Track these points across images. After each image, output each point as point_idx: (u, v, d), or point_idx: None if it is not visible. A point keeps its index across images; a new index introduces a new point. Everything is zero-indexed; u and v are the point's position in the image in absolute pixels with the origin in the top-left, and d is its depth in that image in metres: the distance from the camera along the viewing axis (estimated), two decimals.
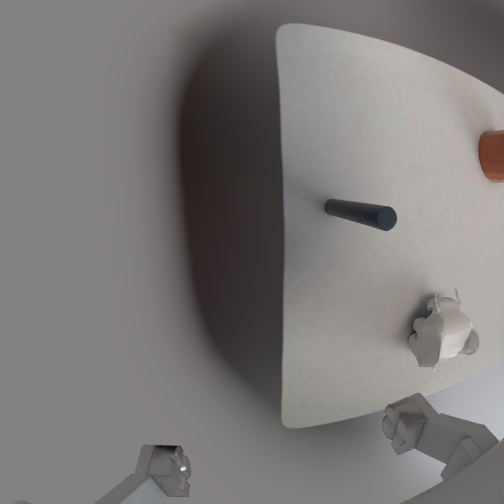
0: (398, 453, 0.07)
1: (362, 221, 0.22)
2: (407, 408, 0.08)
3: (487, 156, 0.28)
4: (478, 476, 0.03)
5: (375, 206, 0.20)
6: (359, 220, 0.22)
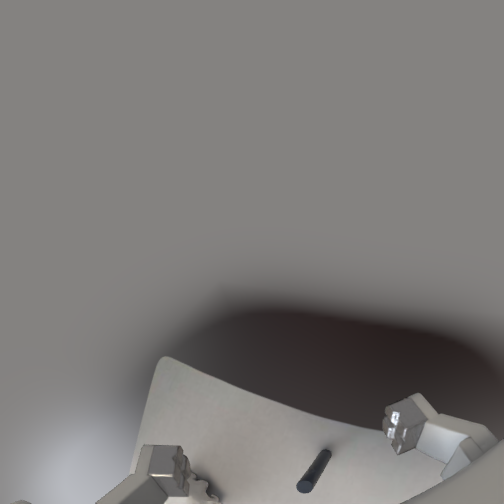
0: (398, 453, 0.07)
1: (308, 471, 0.23)
2: (407, 408, 0.08)
3: None
4: (478, 476, 0.03)
5: (315, 482, 0.21)
6: (309, 470, 0.24)
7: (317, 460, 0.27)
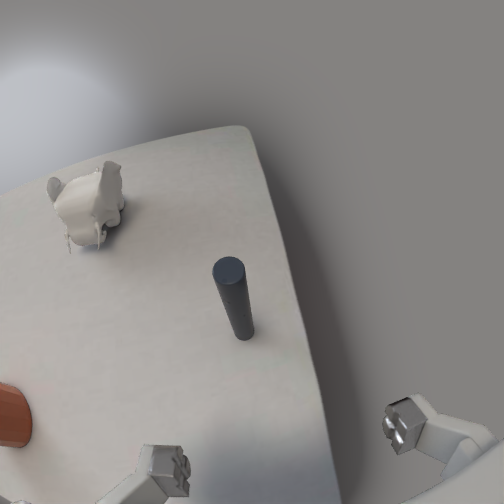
0: (398, 453, 0.07)
1: None
2: (407, 408, 0.08)
3: (20, 414, 0.18)
4: (478, 476, 0.03)
5: (239, 291, 0.16)
6: None
7: None
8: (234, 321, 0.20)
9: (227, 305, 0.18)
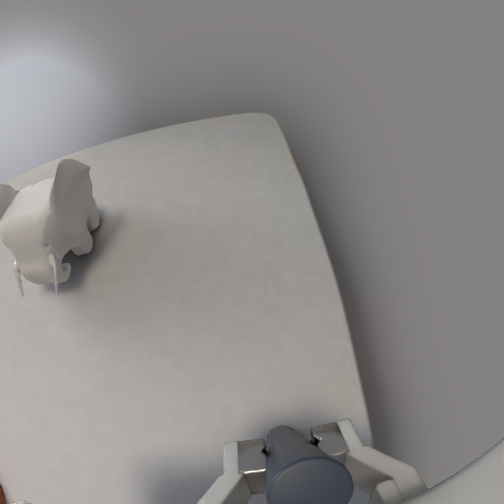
0: None
1: None
2: (332, 434, 0.08)
3: None
4: (478, 476, 0.03)
5: None
6: None
7: None
8: None
9: None
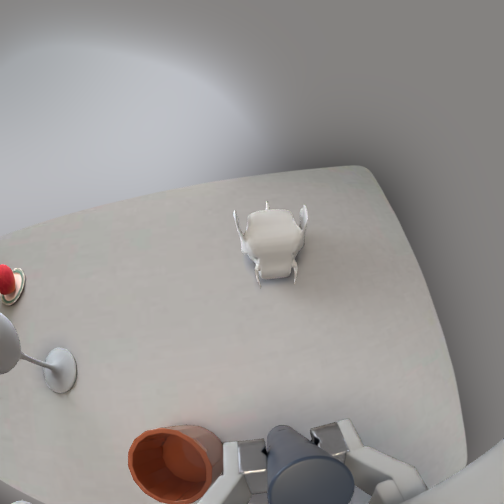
0: None
1: None
2: (332, 434, 0.08)
3: (222, 451, 0.25)
4: (478, 476, 0.03)
5: None
6: None
7: None
8: None
9: None
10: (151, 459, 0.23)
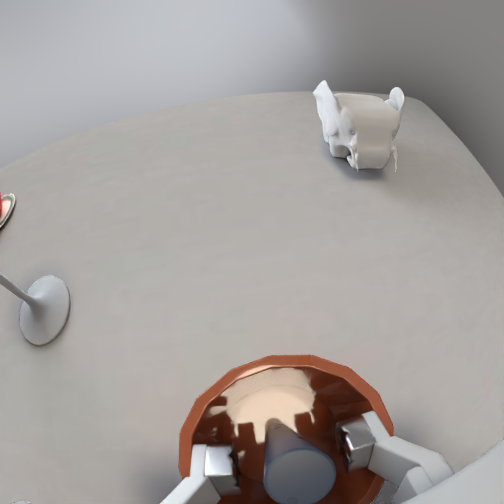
0: (348, 472, 0.07)
1: None
2: (358, 426, 0.08)
3: None
4: (478, 476, 0.03)
5: None
6: None
7: None
8: None
9: None
10: None
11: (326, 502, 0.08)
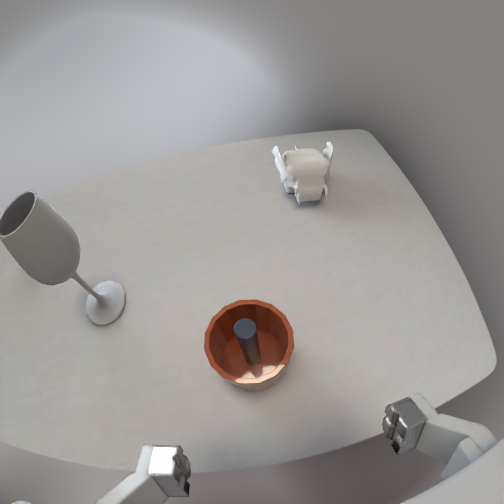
0: (398, 453, 0.07)
1: None
2: (407, 408, 0.08)
3: None
4: (478, 476, 0.03)
5: (252, 340, 0.23)
6: None
7: None
8: (247, 355, 0.27)
9: (243, 347, 0.24)
10: (218, 357, 0.29)
11: None
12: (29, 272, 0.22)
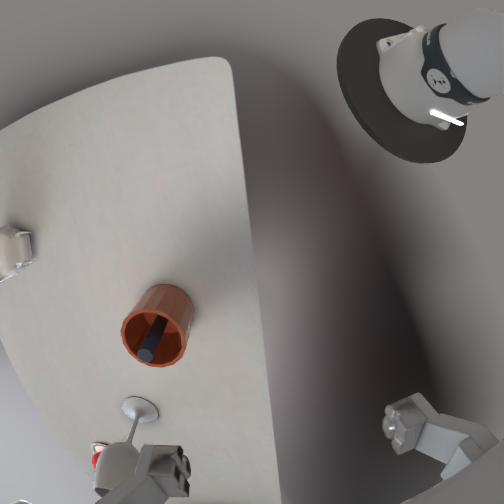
0: (398, 453, 0.07)
1: (145, 338, 0.30)
2: (407, 408, 0.08)
3: (153, 289, 0.37)
4: (478, 476, 0.03)
5: (153, 346, 0.29)
6: None
7: (153, 322, 0.34)
8: (163, 331, 0.34)
9: None
10: (167, 345, 0.37)
11: None
12: None
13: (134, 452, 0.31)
